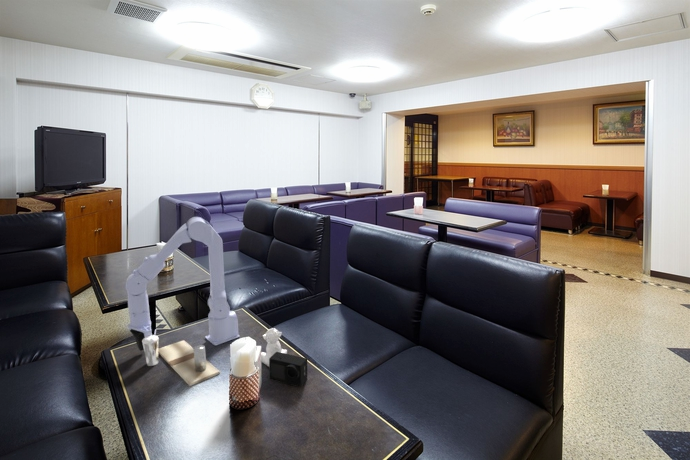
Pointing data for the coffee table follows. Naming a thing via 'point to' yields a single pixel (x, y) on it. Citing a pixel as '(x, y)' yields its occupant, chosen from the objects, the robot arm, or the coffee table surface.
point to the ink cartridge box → (258, 363)
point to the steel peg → (200, 358)
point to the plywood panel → (186, 362)
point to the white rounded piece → (151, 349)
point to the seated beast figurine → (271, 345)
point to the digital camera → (288, 369)
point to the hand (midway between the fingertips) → (143, 349)
